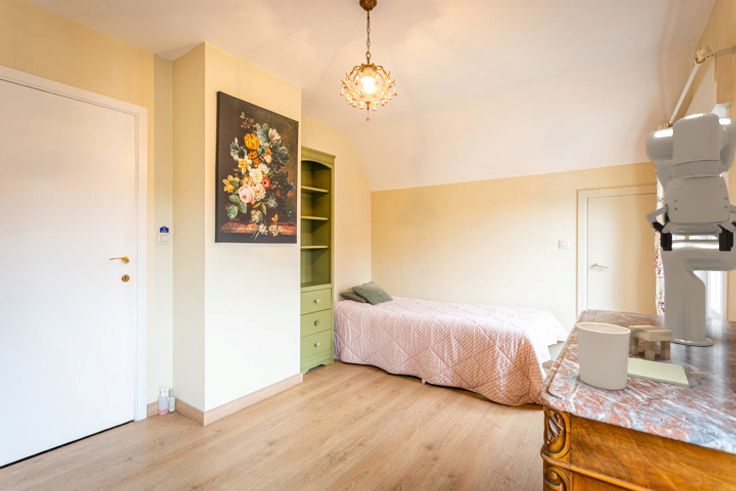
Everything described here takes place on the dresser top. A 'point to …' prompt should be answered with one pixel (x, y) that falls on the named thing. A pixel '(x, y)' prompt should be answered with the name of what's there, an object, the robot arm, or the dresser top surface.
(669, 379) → the felt mat
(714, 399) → the dresser top surface
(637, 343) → the footstool
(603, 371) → the candle holder
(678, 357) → the dresser top surface
